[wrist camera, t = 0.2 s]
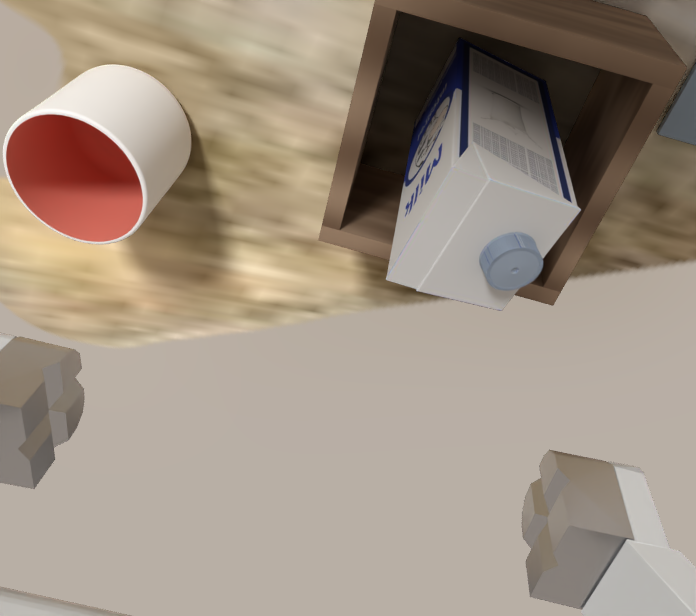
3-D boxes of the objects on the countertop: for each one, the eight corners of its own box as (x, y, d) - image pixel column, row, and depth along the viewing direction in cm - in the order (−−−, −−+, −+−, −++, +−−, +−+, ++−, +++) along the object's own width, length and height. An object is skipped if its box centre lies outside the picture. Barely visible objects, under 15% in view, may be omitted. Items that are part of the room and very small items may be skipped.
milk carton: (460, 34, 43) (453, 166, 28) (548, 78, 44) (587, 231, 29) (413, 125, 48) (383, 283, 32) (493, 164, 49) (502, 336, 33)
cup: (120, 194, 55) (63, 259, 48) (48, 84, 50) (-30, 137, 42) (219, 161, 52) (174, 224, 44) (152, 39, 47) (89, 87, 39)
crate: (397, -56, 41) (380, -21, 33) (646, 16, 41) (687, 67, 33) (342, 172, 51) (318, 240, 43) (541, 228, 51) (553, 305, 44)
